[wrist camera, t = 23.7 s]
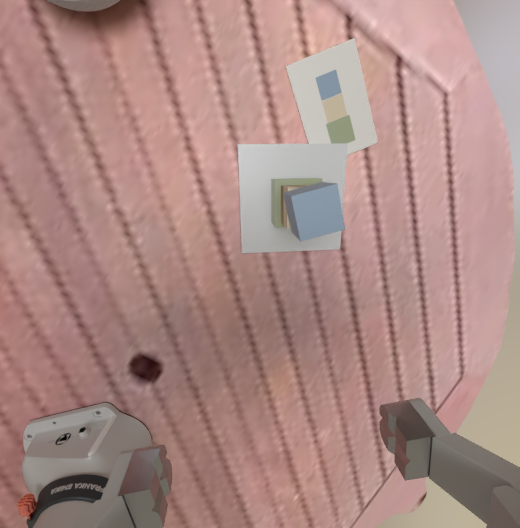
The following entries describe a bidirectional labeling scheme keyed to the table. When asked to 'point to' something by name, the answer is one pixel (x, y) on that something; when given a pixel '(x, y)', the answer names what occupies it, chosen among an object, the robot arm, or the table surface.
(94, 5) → the cereal bowl
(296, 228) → the slate blue block
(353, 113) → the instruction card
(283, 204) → the beech block
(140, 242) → the table surface
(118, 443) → the robot arm
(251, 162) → the build plate
